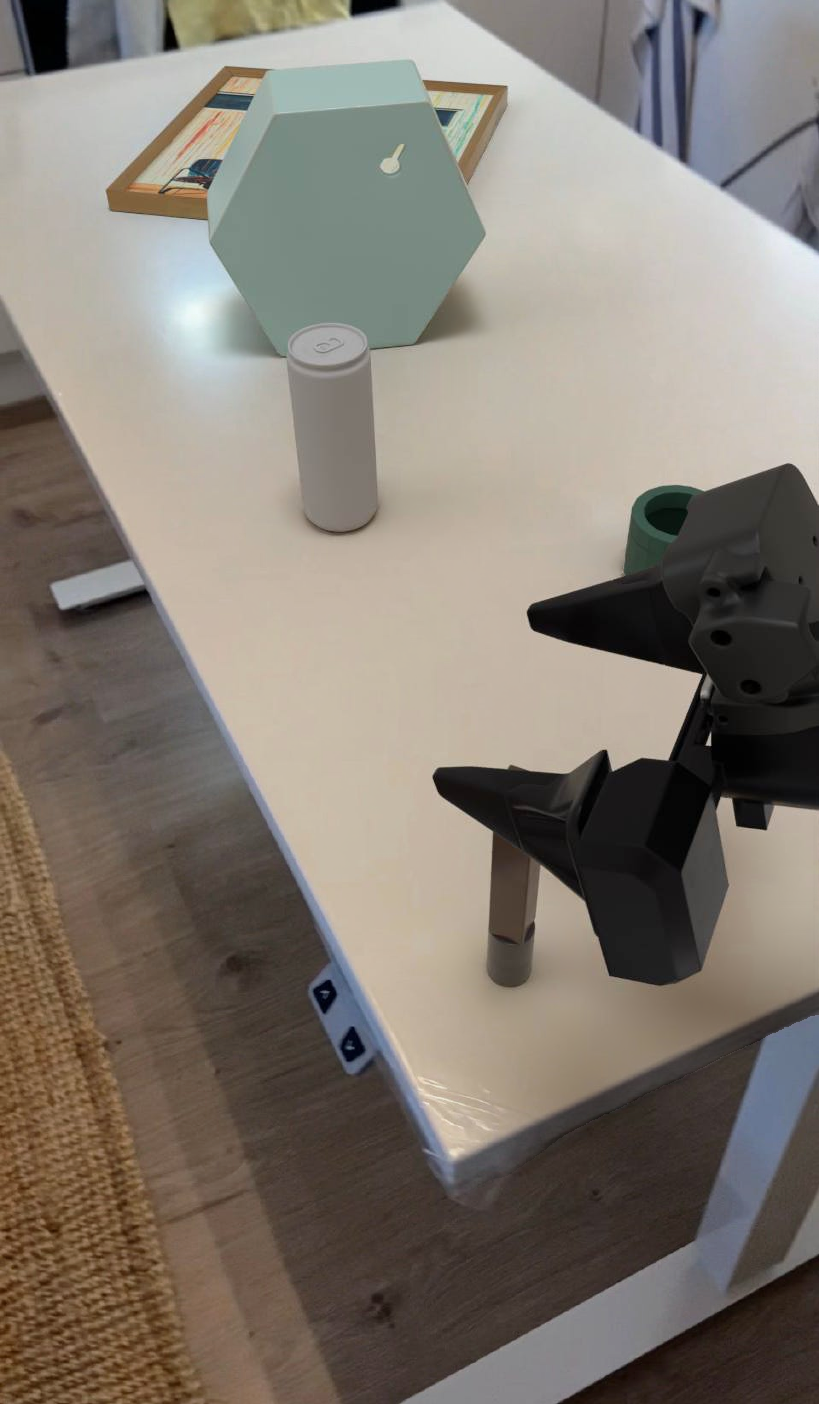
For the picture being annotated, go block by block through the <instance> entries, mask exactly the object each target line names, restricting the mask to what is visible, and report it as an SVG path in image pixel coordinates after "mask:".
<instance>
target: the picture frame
mask: <svg viewBox="0 0 819 1404" xmlns="http://www.w3.org/2000/svg"><path fill="white" fill-rule="evenodd" d="M268 70H277V69H275V68H261V67H260V68H259V67H245V66H232V65H231V66H230V65H224V66H223V67H222V68H221V69H220V70H219V71H218V72H217V73H216V75H215V76H214V77H212V79H210V81H209V82H207V84H205V86H204V87H203V88H202V89H201V90H200V91H199V92H198V93H197V94H196V95H195V96H194V97H193V98H192V99H191V100H190V101H189V102H188V104H186V106H184V108H183V109H182V110H181V111H180V112H179V113H178V114H177V115H176V116H175V117H174V118H173V119H172V120H171V121H170V122H169V123H168V124H167V125H166V126H165V128H164V129H162V131H160V133H159V134H158V135H156V136H155V138H154V139H153V140H152V141H151V142H150V143H149V144H148V145H147V146H146V147H145V148H144V149H143V150H142V151H141V152H140V153H139V154H138V156H136V158H134V160H133V161H132V162H131V163H130V164H129V165H128V166H127V167H126V168H124V170H123V171H122V172H121V173H120V174H119V175H118V176H117V177H116V178H115V179H114V180H113V182H112V183H110V185H109V186H108V187H107V188H106V189H105V193H106V198H107V204H108V208H109V211H113V212H122V213H131V214H141V215H142V214H144V215H153V216H154V215H155V216H163V217H175V218H183V219H184V218H186V219H195V220H205V221H208V212H207V192H208V190H209V187H210V185H211V183H212V181H213V179H214V177H215V175H216V173H217V171H218V169H219V167H220V165H221V163H222V161H223V159H224V157H225V155H226V153H227V150H228V148H229V146H230V144H231V142H232V140H233V138H234V136H235V134H236V132H237V130H238V128H239V126H240V124H241V122H242V120H243V118H244V116H245V114H246V112H247V110H248V108H249V105H250V103H251V101H252V99H253V97H254V95H255V93H256V91H257V89H258V87H259V85H260V83H261V81H262V79H263V77H264V75H265V73H266V72H267V71H268ZM422 81H423V83H424V85H425V88H426V90H427V92H428V95H429V97H430V99H431V102H432V104H433V106H434V109H435V111H436V113H437V116H438V118H439V121H440V123H441V125H442V128H443V130H444V132H445V135H446V137H447V139H448V142H449V144H450V146H451V149H452V151H453V153H454V156H455V158H456V160H457V163H458V165H459V167H460V170H461V172H462V174H463V177H464V179H465V181H466V184H467V185H468V184H469V182H470V180H471V178H472V176H473V174H474V172H475V170H476V169H477V166H478V164H479V162H480V160H481V158H482V156H483V155H484V152H485V151H486V148H487V146H488V144H489V142H490V140H491V138H492V136H493V135H494V132H495V130H496V128H497V126H498V124H499V122H500V121H501V119H502V117H503V114H504V113H505V110H506V108H507V106H508V98H509V97H508V94H509V85H503V84H502V85H501V84H489V83H473V82H461V81H460V82H458V81H444V80H433V79H432V80H431V79H422ZM403 147H404V144H401V145H399V147H398V148H397V150H396V151H395V153H394V155H393V156H392V158H386V159H384V160H383V161H382V162H381V165H380V167H381V169H382V170H383V171H384V172H385V173H388V174H391V173H394V172H396V171H397V170H398V169H399V162H398V160H397V158H398V156H399V154H400V153H401V151H402V149H403Z"/></svg>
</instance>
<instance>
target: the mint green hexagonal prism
mask: <svg viewBox="0 0 819 1404" xmlns="http://www.w3.org/2000/svg"><path fill="white" fill-rule="evenodd" d="M422 80H423V78H422V76H421V73H420V72H419V68H418V66H417V65H416V62H415V61H414V60H413V59H396V60H394V59H393V60H382V61H371V62H358V63H343V64H333V65H332V64H331V65H319V66H318V65H317V66H305V67H293V68H292V67H291V68H281V69H280V68H279V69H276V70H268V71H267V72H266V73H265V75H264V77H263V79H262V81H261V83H260V85H259V87H258V89H257V91H256V93H255V95H254V97H253V99H252V101H251V103H250V105H249V108H248V110H247V112H246V114H245V116H244V118H243V120H242V122H241V124H240V126H239V128H238V130H237V132H236V134H235V136H234V138H233V140H232V142H231V144H230V146H229V148H228V150H227V153H226V155H225V157H224V159H223V161H222V163H221V165H220V167H219V169H218V171H217V173H216V175H215V177H214V179H213V181H212V183H211V185H210V187H209V190H208V192H207V212H208V220H207V227H208V229H207V230H208V243H209V245H210V247H211V248H212V250H213V252H214V253H215V255H216V256H217V258H218V260H219V261H220V264H221V265H222V267H223V268H224V269H225V271H226V273H227V274H228V276H229V277H230V279H231V280H232V282H233V284H234V285H235V287H236V288H237V290H238V292H239V293H240V295H241V296H242V298H243V300H244V302H245V303H246V305H247V307H248V308H249V309H250V311H251V312H252V314H253V315H254V317H255V319H256V321H257V322H258V324H259V325H260V327H261V329H262V330H263V332H264V334H265V336H267V338H268V340H269V341H270V343H271V345H272V346H273V347H274V349H275V351H276V353H277V354H278V355H279V356H282V357H286V358H287V352H288V342H289V340H290V338H291V337H292V336H293V335H294V334H295V333H296V332H298V331H299V330H301V329H303V328H305V327H308V326H311V325H316V324H321V323H341V324H346V325H350V326H353V327H355V328H357V329H359V330H360V331H361V332H363V333H364V334H365V336H366V338H367V344H368V347H369V349H370V350H371V349H382V348H392V347H401V346H411V345H414V344H416V343H417V341H418V340H419V338H420V337H421V335H422V334H423V332H424V331H425V329H426V327H427V326H428V325H429V323H430V321H432V318H434V316H435V314H436V312H437V311H438V309H439V308H440V307H441V305H442V304H443V302H444V300H445V299H446V297H447V295H448V294H449V293H450V291H451V290H452V289H453V287H454V285H455V283H456V282H457V280H458V279H459V278H460V275H461V274H462V272H463V271H464V270H465V268H466V267H467V265H468V263H469V262H470V261H471V259H472V257H473V256H474V254H475V253H476V252H477V250H478V248H479V247H480V246H481V244H482V242H483V241H484V239H485V237H486V236H487V231H486V229H485V226H484V223H483V221H482V219H481V216H480V214H479V211H478V208H477V206H476V204H475V201H474V199H473V196H472V194H471V191H470V189H469V186H468V184H466V181H465V179H464V177H463V174H462V172H461V170H460V167H459V165H458V163H457V160H456V158H455V156H454V153H453V151H452V149H451V146H450V144H449V142H448V139H447V137H446V135H445V132H444V130H443V128H442V125H441V123H440V121H439V118H438V116H437V113H436V111H435V109H434V106H433V104H432V102H431V99H430V97H429V95H428V92H427V90H426V88H425V85H424V83H423V81H422ZM401 144H404V147H403V149H402V151H401V153H400V154H399V156H398V158H397V160H398V162H399V169H398V170H397V171H396V172H394V173H391V174H388V173H385V172H384V171H383V170H382V169H381V167H380V165H381V162H382V161H383V160H384V159H386V158H392V156H393V155H394V153H395V151H396V150H397V148H398V147H399V145H401Z"/></svg>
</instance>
